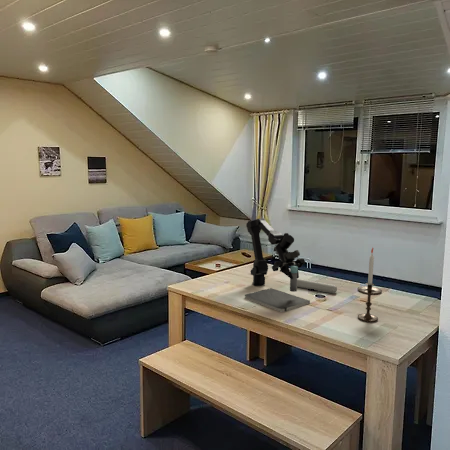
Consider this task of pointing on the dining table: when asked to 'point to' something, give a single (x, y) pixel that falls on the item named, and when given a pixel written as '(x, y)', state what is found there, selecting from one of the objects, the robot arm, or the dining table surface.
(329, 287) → the tube
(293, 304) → the notebook
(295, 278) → the ball
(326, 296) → the dining table surface
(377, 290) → the candlestick
